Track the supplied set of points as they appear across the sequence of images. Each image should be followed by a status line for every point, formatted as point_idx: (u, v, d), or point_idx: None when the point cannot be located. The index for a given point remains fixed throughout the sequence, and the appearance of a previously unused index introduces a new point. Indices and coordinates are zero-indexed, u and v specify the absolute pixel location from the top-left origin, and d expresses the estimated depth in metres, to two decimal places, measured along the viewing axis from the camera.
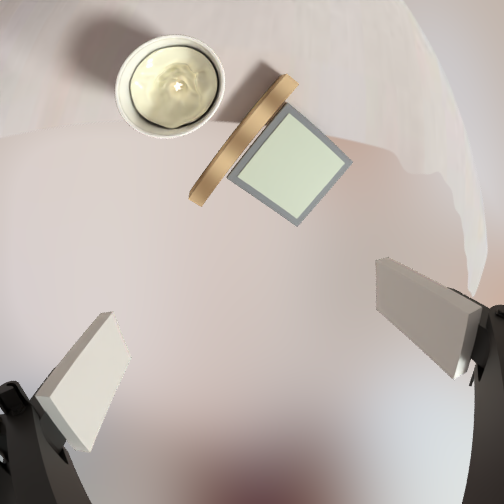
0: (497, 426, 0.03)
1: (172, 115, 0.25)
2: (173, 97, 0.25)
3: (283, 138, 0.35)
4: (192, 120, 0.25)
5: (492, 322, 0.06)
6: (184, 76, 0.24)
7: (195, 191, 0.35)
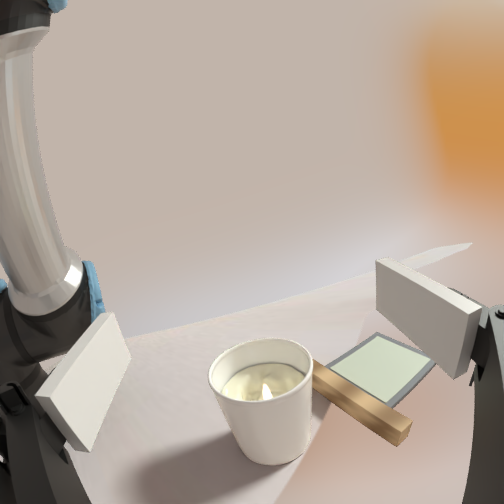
0: (497, 426, 0.03)
1: None
2: None
3: (352, 371, 0.35)
4: None
5: (492, 322, 0.06)
6: (261, 396, 0.27)
7: (393, 425, 0.22)
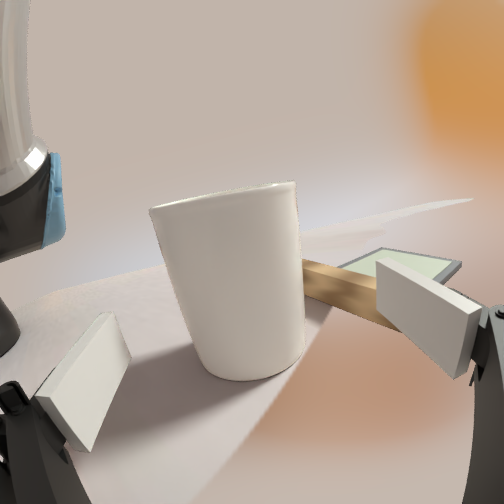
0: (497, 426, 0.03)
1: None
2: None
3: None
4: None
5: (492, 322, 0.06)
6: None
7: None
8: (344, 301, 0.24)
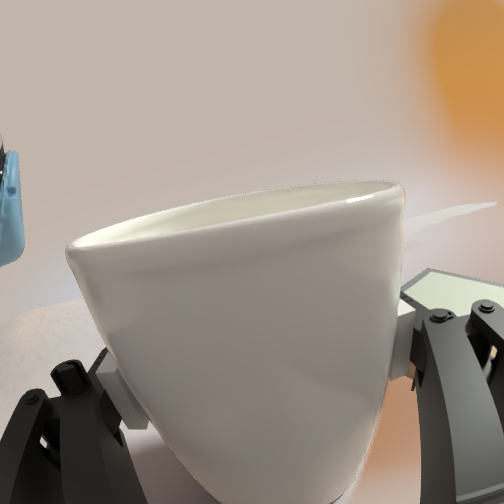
0: (443, 437, 0.04)
1: None
2: None
3: None
4: None
5: (427, 328, 0.07)
6: None
7: None
8: (411, 366, 0.14)
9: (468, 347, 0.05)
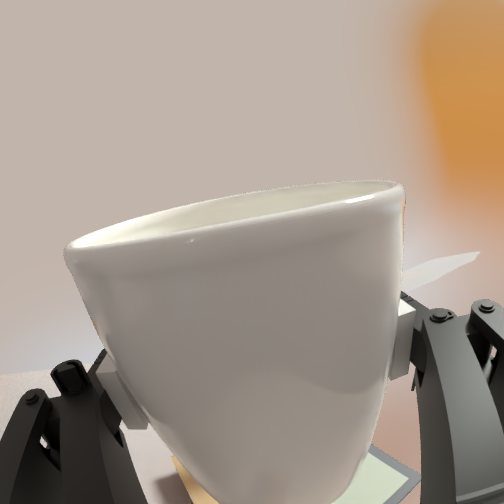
0: (442, 437, 0.04)
1: None
2: None
3: None
4: None
5: (427, 328, 0.07)
6: None
7: None
8: None
9: (468, 347, 0.05)
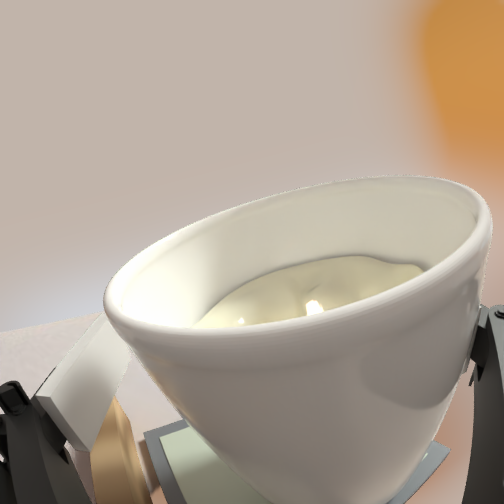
0: (496, 426, 0.03)
1: None
2: None
3: (198, 463, 0.12)
4: None
5: (492, 322, 0.06)
6: None
7: None
8: None
9: None
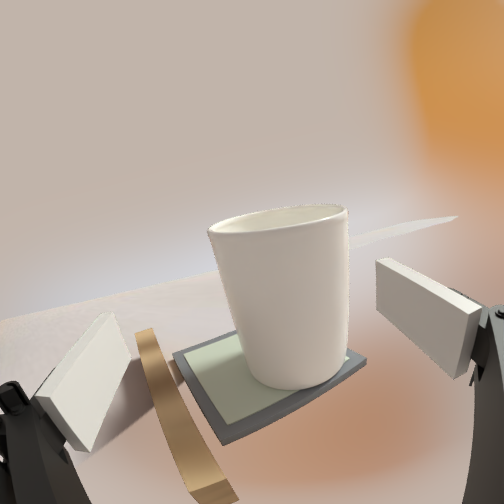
0: (497, 426, 0.03)
1: None
2: None
3: (208, 363, 0.24)
4: None
5: (492, 322, 0.06)
6: None
7: (183, 472, 0.10)
8: None
9: None
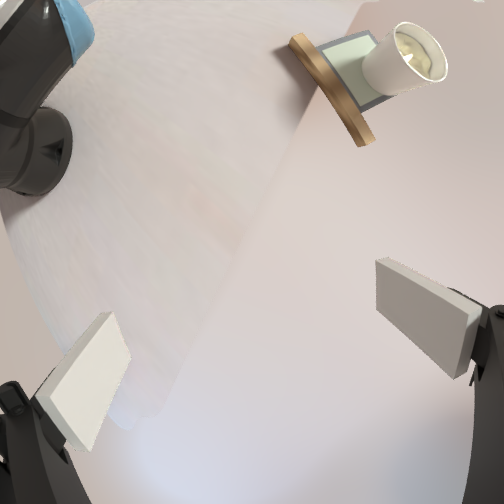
0: (497, 426, 0.03)
1: (420, 73, 0.29)
2: None
3: (340, 62, 0.35)
4: (429, 66, 0.28)
5: (492, 322, 0.06)
6: None
7: (363, 136, 0.36)
8: (326, 92, 0.36)
9: None
